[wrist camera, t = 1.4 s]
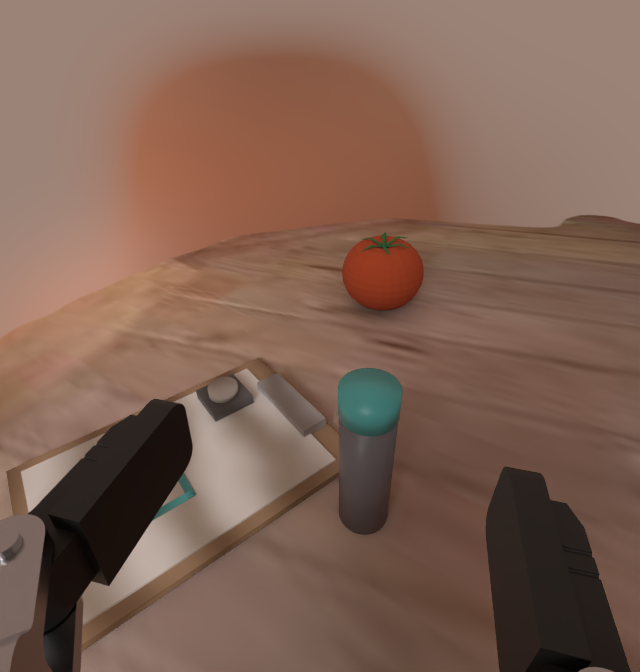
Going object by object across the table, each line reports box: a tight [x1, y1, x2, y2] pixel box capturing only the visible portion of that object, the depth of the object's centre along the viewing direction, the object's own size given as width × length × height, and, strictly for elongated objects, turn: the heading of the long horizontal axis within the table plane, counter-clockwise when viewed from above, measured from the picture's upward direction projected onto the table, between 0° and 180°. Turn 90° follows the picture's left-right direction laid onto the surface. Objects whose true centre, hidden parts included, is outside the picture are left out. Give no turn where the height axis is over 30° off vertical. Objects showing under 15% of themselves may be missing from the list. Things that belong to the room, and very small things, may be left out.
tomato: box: [342, 233, 423, 310], centre depth 53 cm, size 10×10×10 cm
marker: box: [338, 368, 402, 534], centre depth 28 cm, size 4×4×12 cm
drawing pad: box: [6, 358, 339, 651], centre depth 34 cm, size 24×17×3 cm
